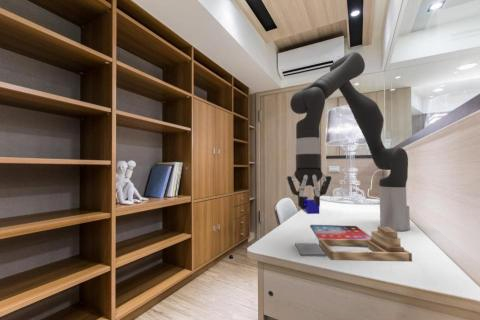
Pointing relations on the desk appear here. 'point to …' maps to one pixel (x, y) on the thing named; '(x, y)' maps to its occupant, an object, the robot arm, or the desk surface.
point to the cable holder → (310, 206)
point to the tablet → (339, 232)
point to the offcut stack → (387, 239)
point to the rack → (346, 255)
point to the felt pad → (309, 249)
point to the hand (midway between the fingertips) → (308, 208)
